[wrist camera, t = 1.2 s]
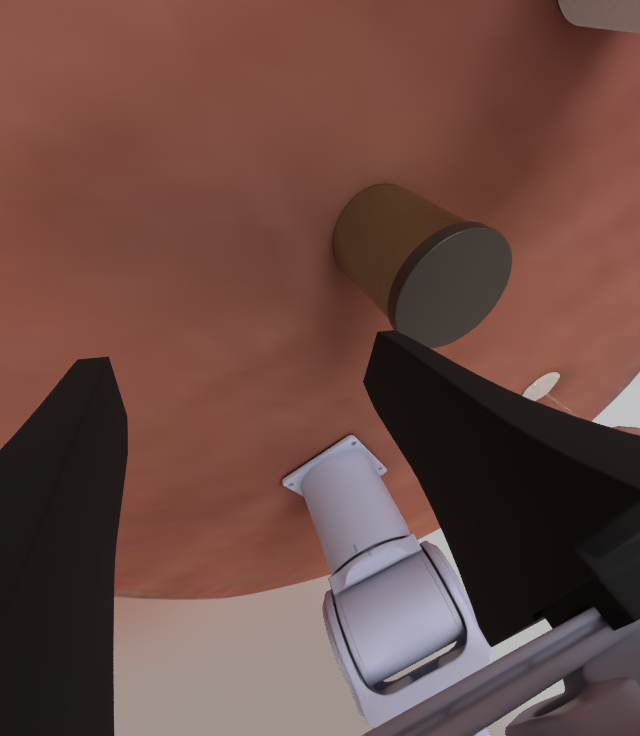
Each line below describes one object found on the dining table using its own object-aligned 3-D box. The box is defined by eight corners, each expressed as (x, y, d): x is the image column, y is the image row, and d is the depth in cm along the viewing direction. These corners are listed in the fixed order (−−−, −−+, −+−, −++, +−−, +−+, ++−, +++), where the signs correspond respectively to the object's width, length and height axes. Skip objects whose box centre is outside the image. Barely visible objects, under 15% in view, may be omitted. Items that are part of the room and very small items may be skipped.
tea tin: (429, 243, 21) (516, 301, 16) (354, 297, 21) (416, 368, 16) (402, 156, 17) (507, 195, 12) (312, 223, 18) (376, 288, 13)
